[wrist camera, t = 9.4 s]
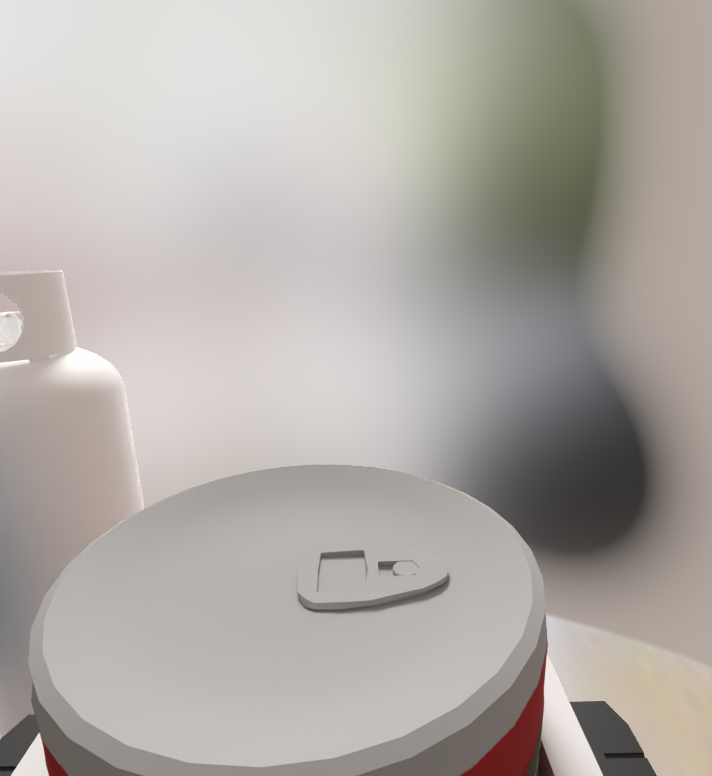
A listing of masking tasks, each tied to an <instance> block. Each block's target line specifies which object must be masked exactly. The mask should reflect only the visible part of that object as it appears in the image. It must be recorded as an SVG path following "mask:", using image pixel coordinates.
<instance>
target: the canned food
mask: <svg viewBox="0 0 712 776" xmlns="http://www.w3.org/2000/svg"><path fill="white" fill-rule="evenodd" d="M545 611H546V610H545V597H544V585H543V577H542V575H541V572H540V570H539V567H538V565H537V563H536V560H535V558H534V556H533V553H532V551H531V549H530V548H529V547H528V546H527V544H526V543H525V542H524V540H523V539H522V538H521V536H520V535H519V534H518V532H517V531H516V530H515V529H514V528H513V526H511V525H510V524H509V523H508V522H507V521H505V520H504V519H503V518H502V517H501V516H500V515H498V514H497V513H496V512H495V511H493V510H492V509H491V508H490V507H488V506H486V505H484V504H483V503H481V502H479V501H478V500H476V499H474V498H472V497H471V496H469V495H467V494H466V493H463V492H461V491H458V490H456V489H453V488H451V487H449V486H446V485H444V484H441V483H439V482H436V481H433V480H429V479H426V478H422V477H419V476H415V475H412V474H407V473H402V472H397V471H391V470H385V469H380V468H373V467H362V466H351V465H306V466H291V467H281V468H274V469H267V470H260V471H254V472H249V473H245V474H240V475H236V476H231V477H227V478H223V479H219V480H216V481H213V482H210V483H206V484H203V485H200V486H197V487H194V488H191V489H188V490H185V491H183V492H180V493H178V494H176V495H173V496H171V497H168V498H166V499H164V500H161V501H159V502H157V503H154V504H152V505H150V506H148V507H147V508H145V509H143V510H141V511H139V512H137V513H135V514H134V515H132V516H130V517H128V518H126V519H124V520H123V521H121V522H119V523H118V524H117V525H115V526H114V527H112V528H111V529H110V530H108V531H107V532H105V533H104V534H103V535H101V536H100V537H98V538H97V539H95V540H94V541H93V542H91V543H90V544H89V545H88V546H87V547H86V548H85V549H84V550H83V551H82V552H81V553H80V554H79V555H78V556H77V557H76V558H74V559H73V560H72V561H71V562H70V563H69V564H68V565H67V566H66V567H65V569H64V570H63V571H62V573H61V574H60V575H59V577H58V578H57V579H56V581H55V582H54V584H53V585H52V586H51V588H50V589H49V590H48V592H47V593H46V594H45V596H44V598H43V601H42V603H41V606H40V608H39V610H38V613H37V615H36V618H35V620H34V622H33V625H32V627H31V634H30V646H29V658H28V667H29V670H30V674H31V678H32V696H31V702H32V706H33V710H34V714H35V717H36V721H37V725H38V729H39V732H40V736H41V740H42V744H43V747H44V754H45V761H46V767H47V770H48V774H49V776H538V767H539V756H540V745H541V734H542V723H543V713H544V682H545V670H546V658H547V647H548V642H547V629H546V616H545Z"/></svg>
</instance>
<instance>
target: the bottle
mask: <svg viewBox="0 0 712 776" xmlns="http://www.w3.org/2000/svg"><path fill="white" fill-rule="evenodd" d="M0 293H3V294H4V295H6V296H7V297H8V298H10V299H11V300H12V301H13V302H15V303H16V304H17V306H18V308H19V310H20V311H21V312H19V311H17V312H6V313H0V315H1V317H0V734H1V738H2V737H3V736H5V735H6V734H7V733H8V732H9V731H10V730H11V729H12V728H14V727H15V726H16V725H17V724H18V723H19V722H20V721H22V720H23V719H24V718H25V717H26V716H27V715H32V714H34V710H33V706H32V702H31V696H32V678H31V674H30V670H29V667H28V658H29V646H30V634H31V627H32V625H33V622H34V620H35V618H36V615H37V613H38V610H39V608H40V606H41V603H42V601H43V598H44V596H45V594H46V593H47V592H48V590H49V589H50V588H51V586H52V585H53V584H54V582H55V581H56V579H57V578H58V577H59V575H60V574H61V573H62V571H63V570H64V569H65V567H66V566H67V565H68V564H69V563H70V562H71V561H72V560H73V559H74V558H76V557H77V556H78V555H79V554H80V553H81V552H82V551H83V550H84V549H85V548H86V547H87V546H88V545H89V544H90V543H91V542H93V541H94V540H95V539H97V538H98V537H100V536H101V535H103V534H104V533H105V532H107V531H108V530H110V529H111V528H112V527H114V526H115V525H117V524H118V523H119V522H121V521H123V520H124V519H126V518H128V517H130V516H132V515H134V514H135V513H137V512H139V511H141V510H143V509H145V508H144V501H143V495H142V489H141V483H140V477H139V471H138V465H137V459H136V453H135V447H134V441H133V434H132V428H131V423H130V416H129V411H128V404H127V398H126V392H125V386H124V380H123V379H122V377H121V376H120V374H119V373H118V371H117V370H116V368H115V367H114V366H113V365H112V364H111V363H109V362H108V361H106V360H105V359H103V358H101V357H100V356H98V355H97V354H94V353H92V352H89V351H86V350H84V349H81V348H78V347H77V343H76V337H75V332H74V327H73V321H72V316H71V310H70V305H69V299H68V294H67V289H66V283H65V278H64V273H63V271H62V270H43V271H15V272H0ZM21 313H22V315H23V317H24V320H23V331H22V333H21V330H20V327H21V325H22V322H21V320H20V319H18V316H17V315H14V314H21ZM4 315H5V316H4Z"/></svg>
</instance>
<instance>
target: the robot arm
mask: <svg viewBox="0 0 712 776" xmlns="http://www.w3.org/2000/svg"><path fill="white" fill-rule="evenodd" d="M0 776H49V774H48V770H47V767H46V761H45V754H44V747H43V744H42V740H41V736H40V732H39V729H38V725H37V721H36V717H35V714H32V715H27V716H26V717H25V718H24V719H23V720H22V721H20V722H19V723H18V724H17V725H16V726H15V727H14V728H12V729H11V730H10V731H9V732H8V733H7V734H6V735H5V736H3V737H2V738H1V739H0ZM538 776H657V775H656V774H655V772H654V770H653V768H652V766H651V765H650V763H649V761H648V759H647V758H645V757H644V752H643V750H642V749H641V747H640V745H639V743H638V742H637V740H636V738H635V736H634V734H633V733H632V731H631V729H630V727H629V725H628V724H627V723H626V722H625V721H624V720H623V719H622V718H621V717H620V716H619V715H618V714H617V713H616V712H615V711H614V710H613V709H612V708H611V707H610V706H609V705H608V704H607V703H606V702H605V701H588V702H569V700H568V698H567V696H566V694H565V691H564V689H563V687H562V685H561V683H560V681H559V678H558V676H557V674H556V672H555V670H554V668H553V665H552V663H551V661H550V659H549V657H548V654H547V658H546V670H545V682H544V713H543V723H542V734H541V745H540V756H539V767H538Z"/></svg>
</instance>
